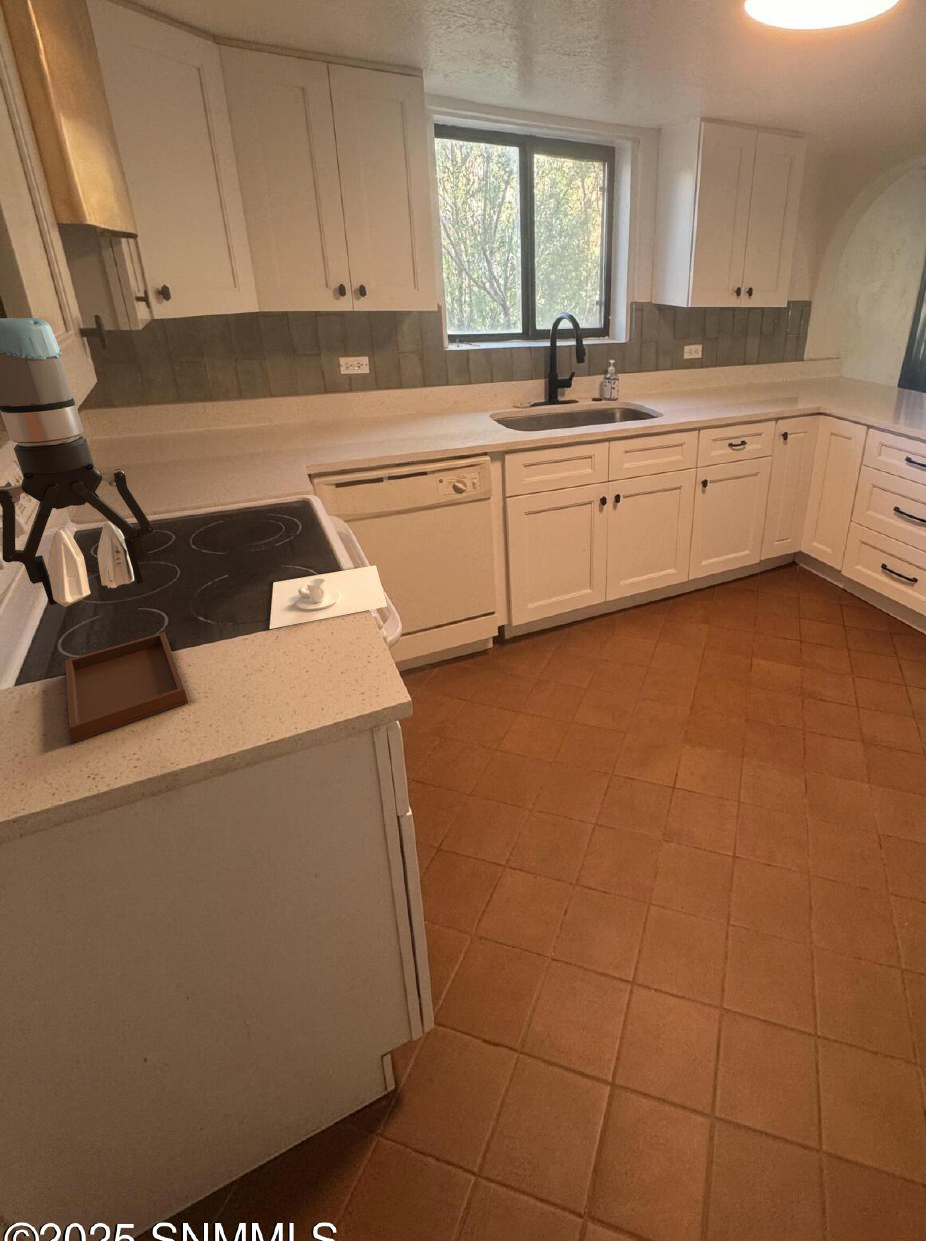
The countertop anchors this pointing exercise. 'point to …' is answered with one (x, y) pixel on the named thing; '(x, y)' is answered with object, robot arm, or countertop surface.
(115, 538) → the shaker set
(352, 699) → the countertop surface
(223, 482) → the countertop surface
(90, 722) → the tray
